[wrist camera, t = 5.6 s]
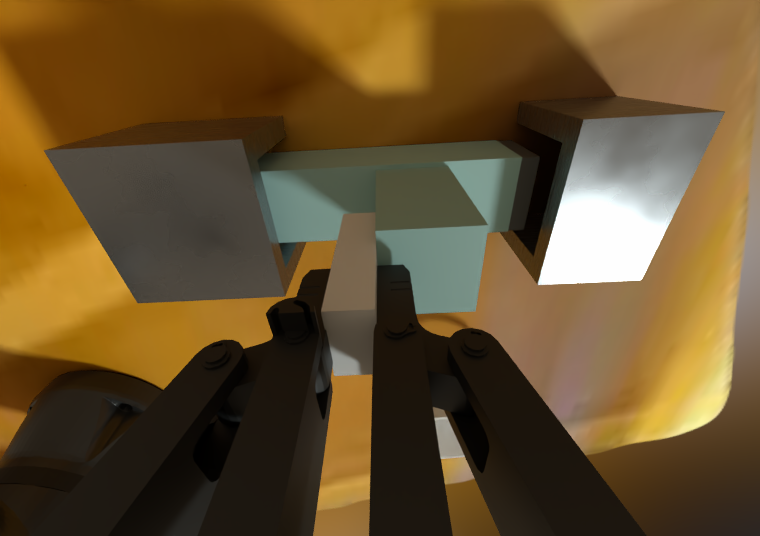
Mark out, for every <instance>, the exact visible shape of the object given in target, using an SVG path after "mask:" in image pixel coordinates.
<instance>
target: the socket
mask: <svg viewBox="0 0 760 536" xmlns="http://www.w3.org/2000/svg"><path fill="white" fill-rule="evenodd" d="M724 113H725V111H718V110H711V109H704V108H697V107H690V106H683V105H676V104H669V103H662V102H655V101H648V100H641V99H634V98H627V97H620V96H611V97H594V98H577V99H560V100H543V101H526V102H520V106H519V112H518V118H517V123H518V124H521V125H523V126H525V127H528V128H530V129H532V130H534V131H537V132H539V133H541V134H544V135H546V136H548V137H550V138H553V139H555V140H557V141H560V142H562V147H561V151H560V155H559V159H558V163H557V166H556V170H555V174H554V178H553V182H552V186H551V190H550V194H549V198H548V202H547V206H546V210H545V214H527V218H526V223H525V227H524V230H508V232H500V233H501V235H502V236H503V237H504V239H505V240H506V242H507V243H508V244H509V246H510V247H511V249H512V250H513V251H514V253H515V254H516V255H517V257H518V258H519V260H520V261H521V262H522V264H523V265H524V267H525V268H526V269H527V271H528V272H529V274H530V275H531V276H532V278H533V279H534V280H535V282H536V283H537V285H544V284H565V283H587V282H609V281H631V280H641V279H642V277H643V275H644V273H645V271H646V269H647V267H648V265H649V263H650V261H651V259H652V257H653V255H654V253H655V251H656V249H657V247H658V245H659V243H660V241H661V239H662V237H663V235H664V233H665V231H666V229H667V227H668V225H669V223H670V221H671V219H672V217H673V215H674V213H675V211H676V209H677V207H678V205H679V203H680V201H681V199H682V197H683V195H684V193H685V191H686V189H687V187H688V185H689V183H690V181H691V179H692V177H693V175H694V173H695V171H696V169H697V167H698V165H699V163H700V161H701V159H702V157H703V155H704V153H705V151H706V149H707V147H708V145H709V143H710V141H711V139H712V137H713V135H714V133H715V131H716V129H717V127H718V125H719V123H720V121H721V119H722V117H723V115H724Z"/></svg>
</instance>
